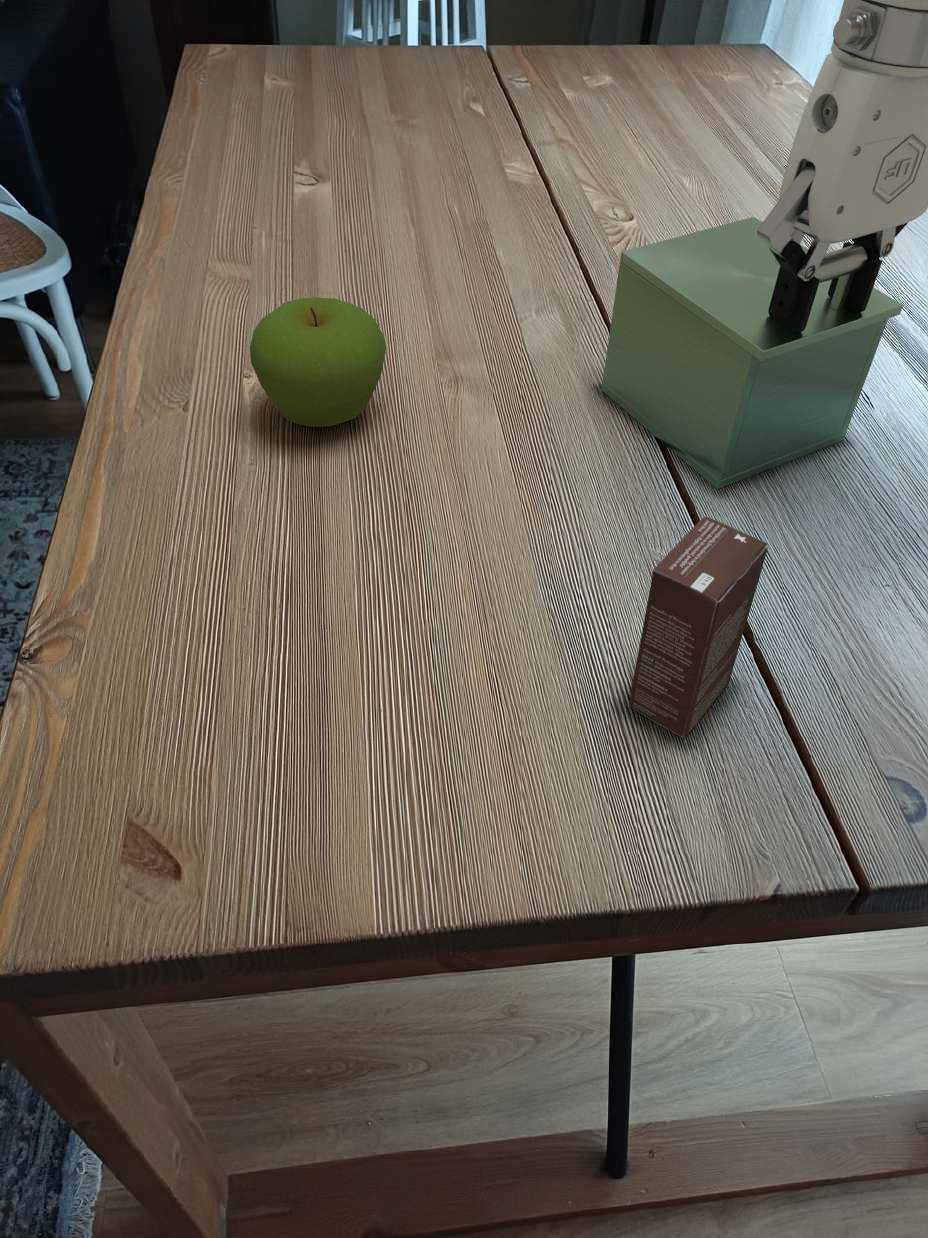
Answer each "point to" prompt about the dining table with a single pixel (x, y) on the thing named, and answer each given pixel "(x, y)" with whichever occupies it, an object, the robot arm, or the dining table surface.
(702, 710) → the box
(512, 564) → the dining table surface
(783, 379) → the trash can
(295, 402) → the apple
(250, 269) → the dining table surface
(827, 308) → the bin lid
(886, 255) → the robot arm
